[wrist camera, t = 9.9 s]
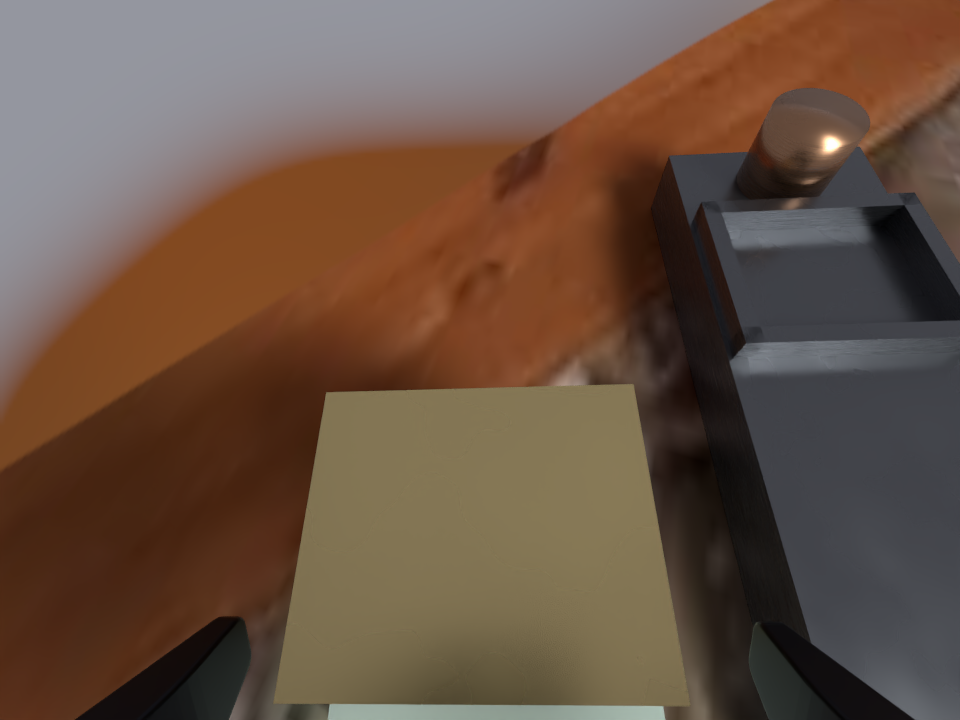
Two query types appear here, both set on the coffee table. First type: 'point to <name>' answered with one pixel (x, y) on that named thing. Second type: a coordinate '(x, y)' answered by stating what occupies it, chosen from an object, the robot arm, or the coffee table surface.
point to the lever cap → (482, 554)
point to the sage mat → (492, 712)
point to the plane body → (828, 391)
